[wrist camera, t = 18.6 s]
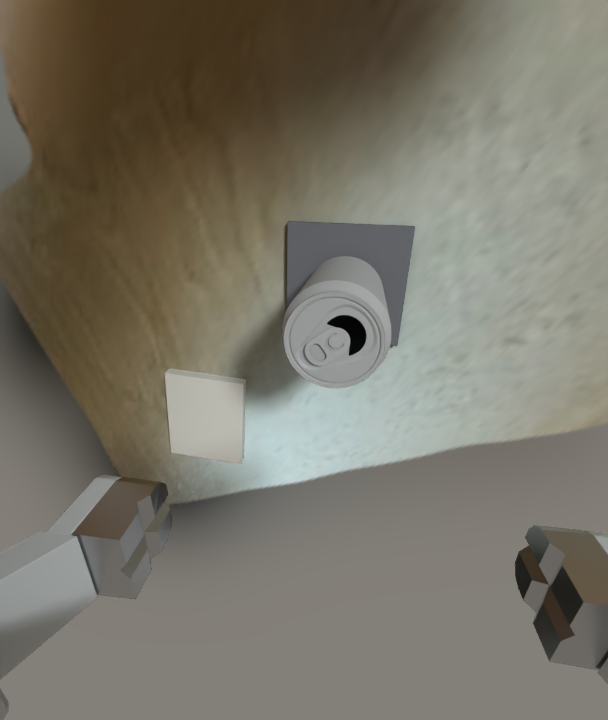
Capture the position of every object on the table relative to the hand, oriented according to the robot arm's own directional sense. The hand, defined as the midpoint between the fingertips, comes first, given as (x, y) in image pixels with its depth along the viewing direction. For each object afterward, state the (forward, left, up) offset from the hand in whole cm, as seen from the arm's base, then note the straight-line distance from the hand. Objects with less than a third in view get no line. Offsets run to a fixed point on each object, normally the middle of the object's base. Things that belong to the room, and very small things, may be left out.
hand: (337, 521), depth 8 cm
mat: (0, 0, -25) cm, 25 cm away
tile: (+10, -13, -25) cm, 30 cm away
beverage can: (+1, 0, -25) cm, 25 cm away
